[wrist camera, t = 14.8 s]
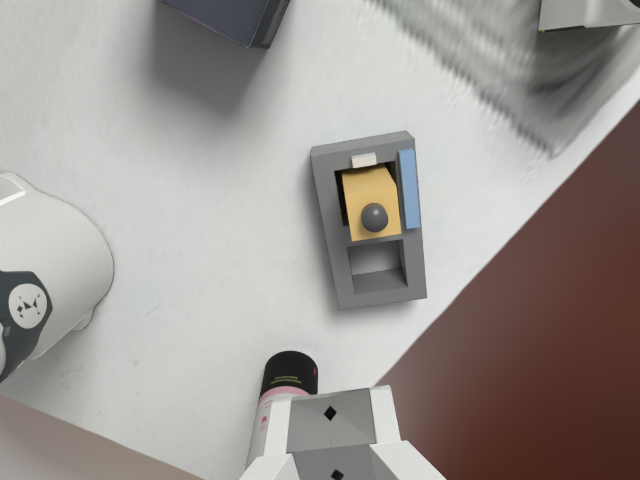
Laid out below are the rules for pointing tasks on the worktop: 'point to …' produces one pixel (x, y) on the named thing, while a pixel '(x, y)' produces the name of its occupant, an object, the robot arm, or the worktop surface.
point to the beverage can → (281, 391)
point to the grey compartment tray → (338, 237)
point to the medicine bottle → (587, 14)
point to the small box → (236, 18)
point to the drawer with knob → (371, 202)
